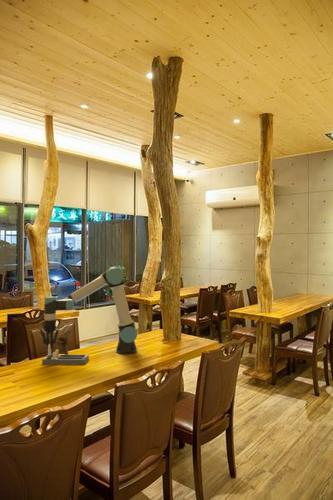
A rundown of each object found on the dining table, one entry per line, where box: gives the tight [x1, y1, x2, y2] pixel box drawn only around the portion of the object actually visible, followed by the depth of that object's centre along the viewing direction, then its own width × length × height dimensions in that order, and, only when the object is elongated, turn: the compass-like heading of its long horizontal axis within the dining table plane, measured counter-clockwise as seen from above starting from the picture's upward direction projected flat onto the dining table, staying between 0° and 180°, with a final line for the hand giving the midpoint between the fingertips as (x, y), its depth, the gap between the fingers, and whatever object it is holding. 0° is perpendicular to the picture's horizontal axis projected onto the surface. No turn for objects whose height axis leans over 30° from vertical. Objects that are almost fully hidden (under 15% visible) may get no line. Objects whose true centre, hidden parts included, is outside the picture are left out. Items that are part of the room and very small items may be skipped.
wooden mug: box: [55, 330, 72, 355], centre depth 258 cm, size 9×14×18 cm, turn 49°
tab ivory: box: [51, 351, 58, 359], centre depth 237 cm, size 4×3×5 cm
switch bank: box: [41, 354, 90, 365], centre depth 240 cm, size 28×12×3 cm, turn 90°
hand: (49, 353), depth 243 cm, fingers closed
